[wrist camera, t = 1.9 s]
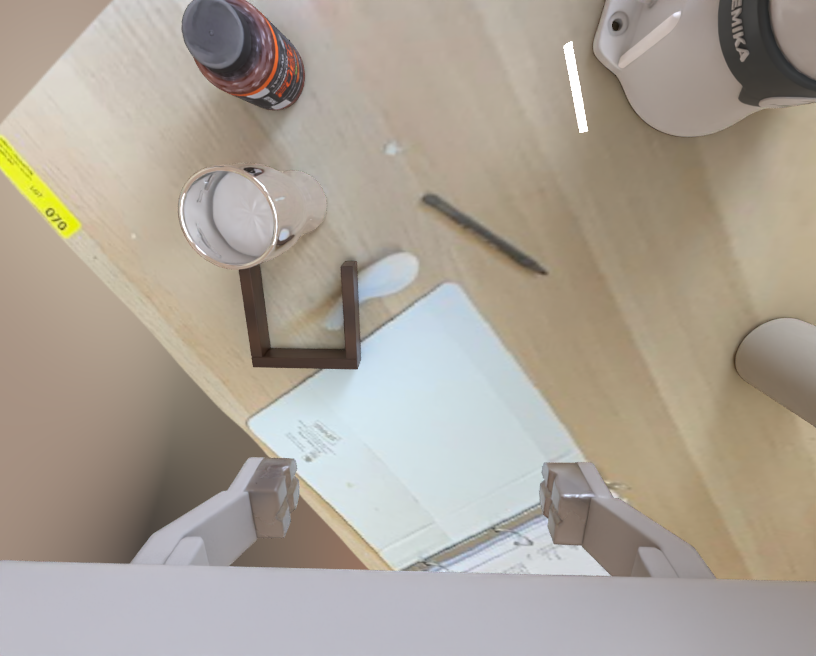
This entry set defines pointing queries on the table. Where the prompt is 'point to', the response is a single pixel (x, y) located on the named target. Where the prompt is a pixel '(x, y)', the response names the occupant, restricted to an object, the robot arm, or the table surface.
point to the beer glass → (248, 212)
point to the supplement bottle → (243, 52)
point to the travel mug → (782, 364)
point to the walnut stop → (301, 357)
